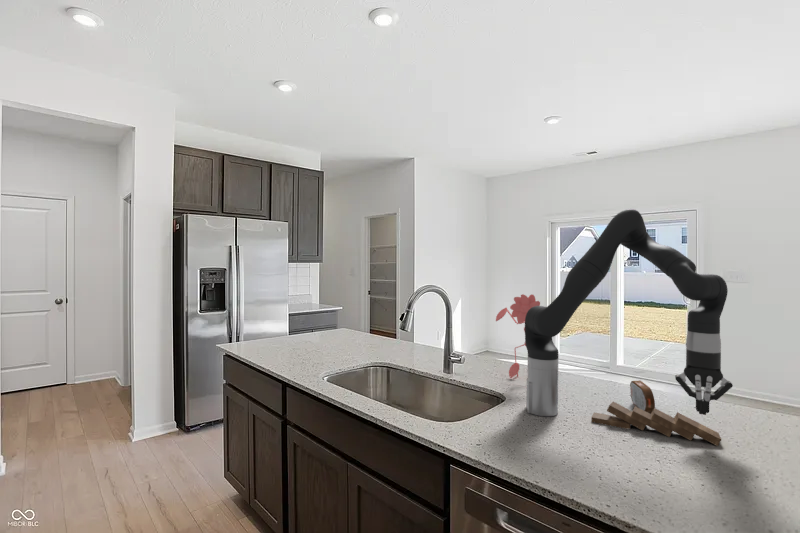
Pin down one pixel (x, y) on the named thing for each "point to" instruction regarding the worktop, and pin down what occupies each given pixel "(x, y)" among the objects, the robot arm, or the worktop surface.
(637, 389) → the tin
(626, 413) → the tile
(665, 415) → the tile
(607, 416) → the tile
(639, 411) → the tile
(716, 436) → the end tile
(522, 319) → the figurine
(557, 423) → the worktop surface
